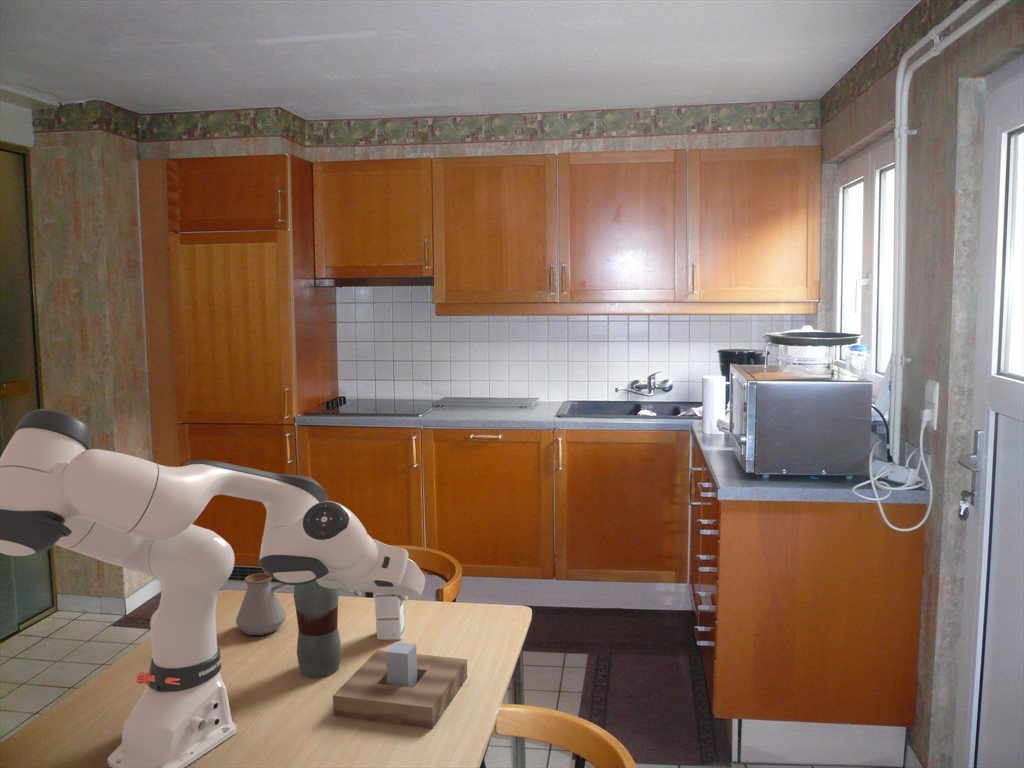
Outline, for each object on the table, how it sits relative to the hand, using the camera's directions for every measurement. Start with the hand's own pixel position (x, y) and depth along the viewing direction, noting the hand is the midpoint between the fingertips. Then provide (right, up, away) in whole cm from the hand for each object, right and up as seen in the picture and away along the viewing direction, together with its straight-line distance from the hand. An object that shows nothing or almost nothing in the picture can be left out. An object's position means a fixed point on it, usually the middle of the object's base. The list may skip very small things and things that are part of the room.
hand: (381, 594), depth 154 cm
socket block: (+3, -22, +9) cm, 24 cm away
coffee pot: (-30, -19, +42) cm, 55 cm away
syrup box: (-4, -19, +37) cm, 42 cm away
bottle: (-16, -21, +21) cm, 34 cm away
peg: (+3, -22, +9) cm, 24 cm away
